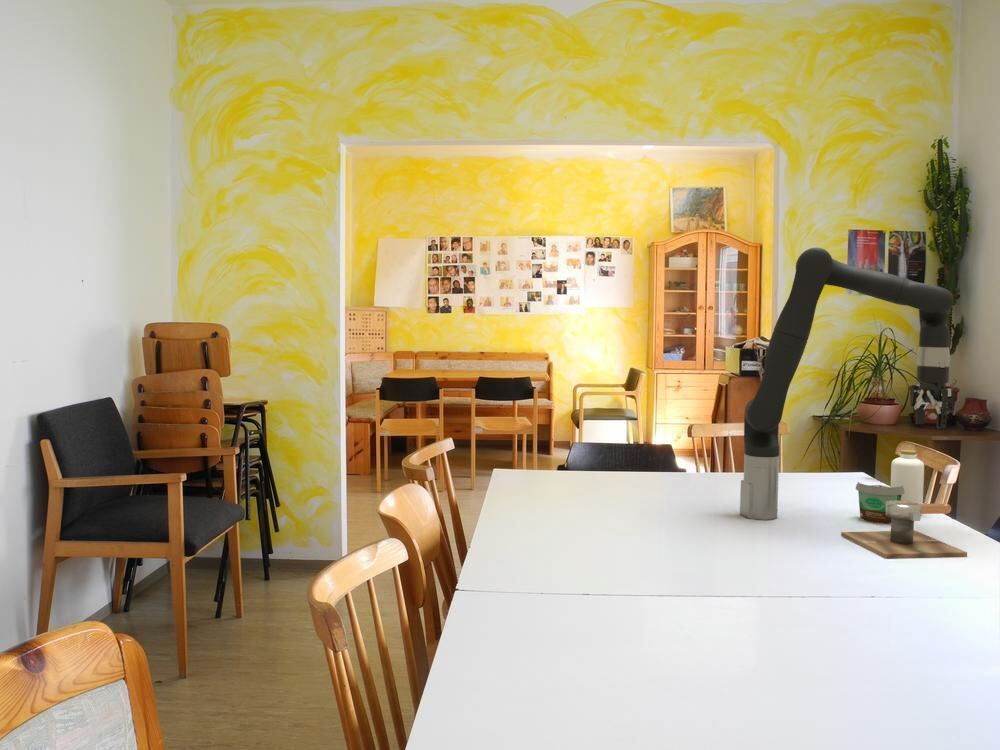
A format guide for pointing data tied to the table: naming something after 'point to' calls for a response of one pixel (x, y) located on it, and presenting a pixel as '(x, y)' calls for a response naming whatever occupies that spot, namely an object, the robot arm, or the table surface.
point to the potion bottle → (908, 476)
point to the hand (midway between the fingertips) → (930, 426)
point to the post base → (903, 549)
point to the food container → (877, 501)
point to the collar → (913, 509)
